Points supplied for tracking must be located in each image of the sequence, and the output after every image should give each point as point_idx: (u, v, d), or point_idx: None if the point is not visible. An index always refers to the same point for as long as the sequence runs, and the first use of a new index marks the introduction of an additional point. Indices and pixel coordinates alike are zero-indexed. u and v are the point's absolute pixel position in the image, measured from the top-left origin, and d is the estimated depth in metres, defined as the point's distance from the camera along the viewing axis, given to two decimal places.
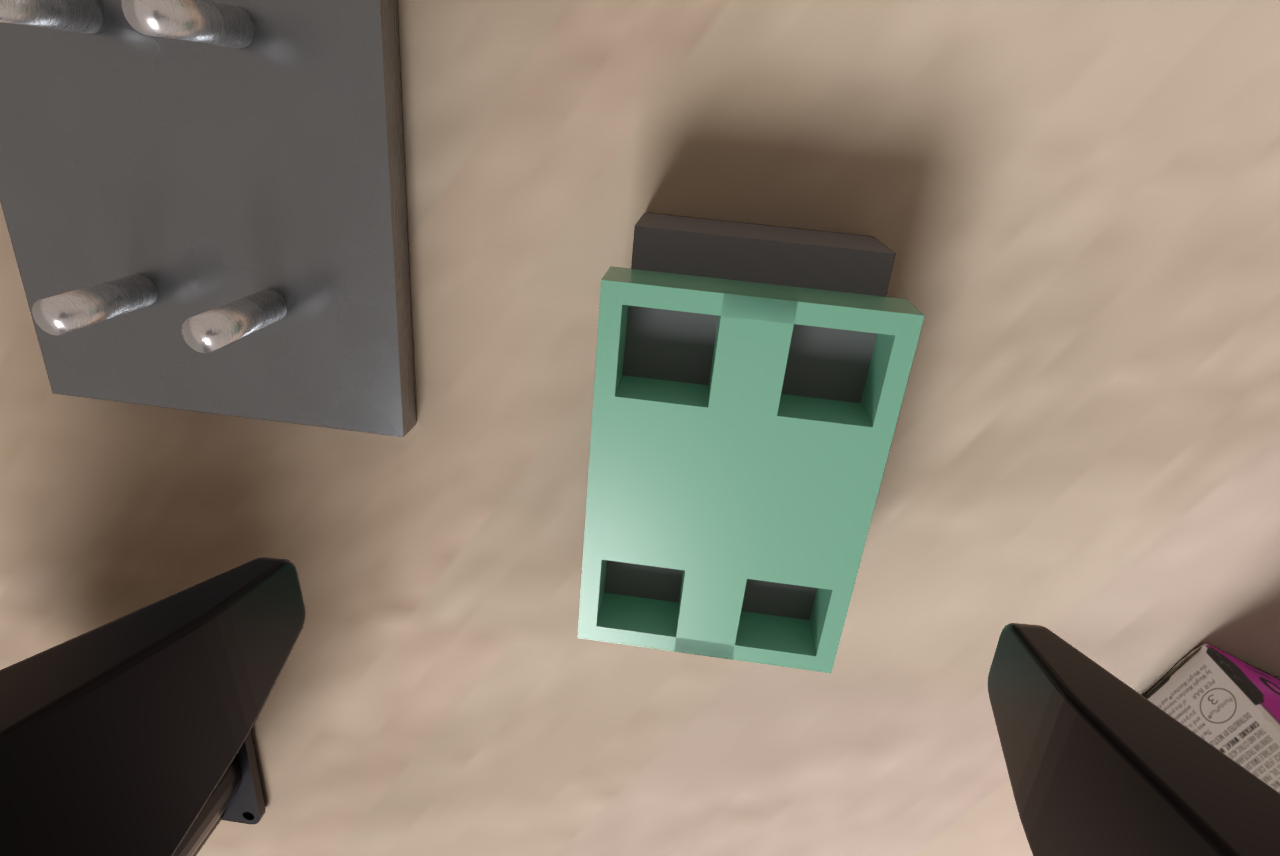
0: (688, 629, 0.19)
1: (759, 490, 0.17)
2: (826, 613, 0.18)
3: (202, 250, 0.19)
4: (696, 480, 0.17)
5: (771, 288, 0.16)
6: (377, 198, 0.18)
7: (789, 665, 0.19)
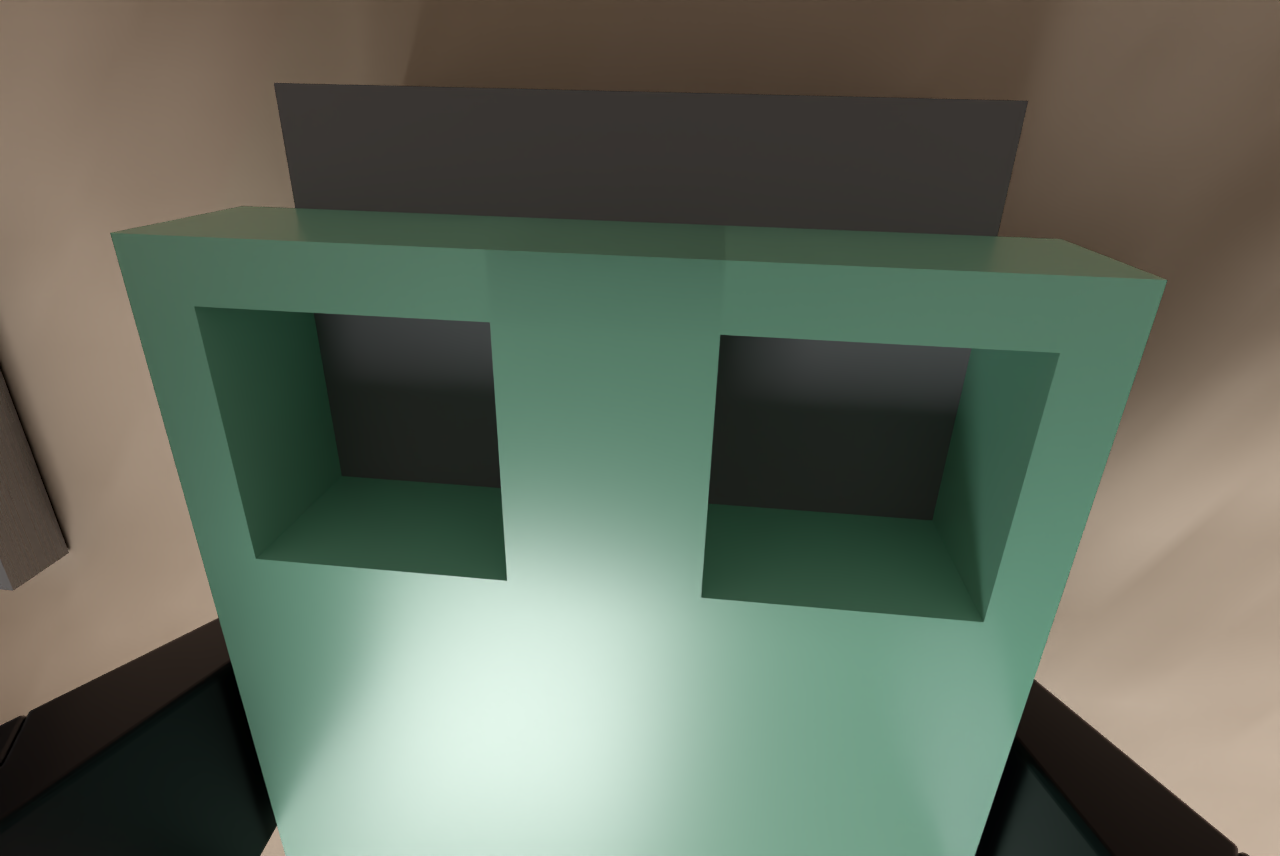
0: None
1: (678, 771, 0.07)
2: None
3: None
4: (514, 749, 0.07)
5: (661, 231, 0.06)
6: None
7: None
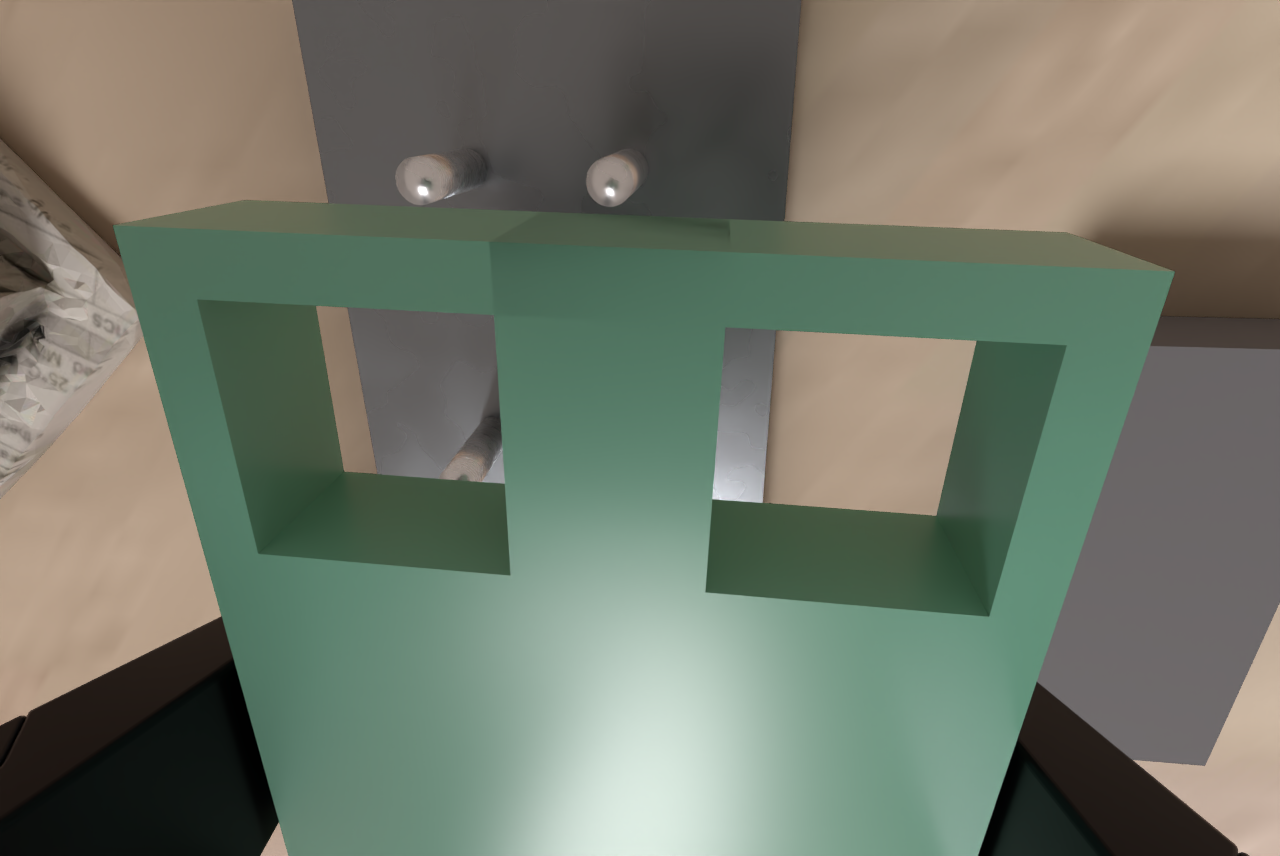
0: None
1: (682, 767, 0.07)
2: None
3: None
4: (517, 745, 0.07)
5: (666, 225, 0.06)
6: None
7: None
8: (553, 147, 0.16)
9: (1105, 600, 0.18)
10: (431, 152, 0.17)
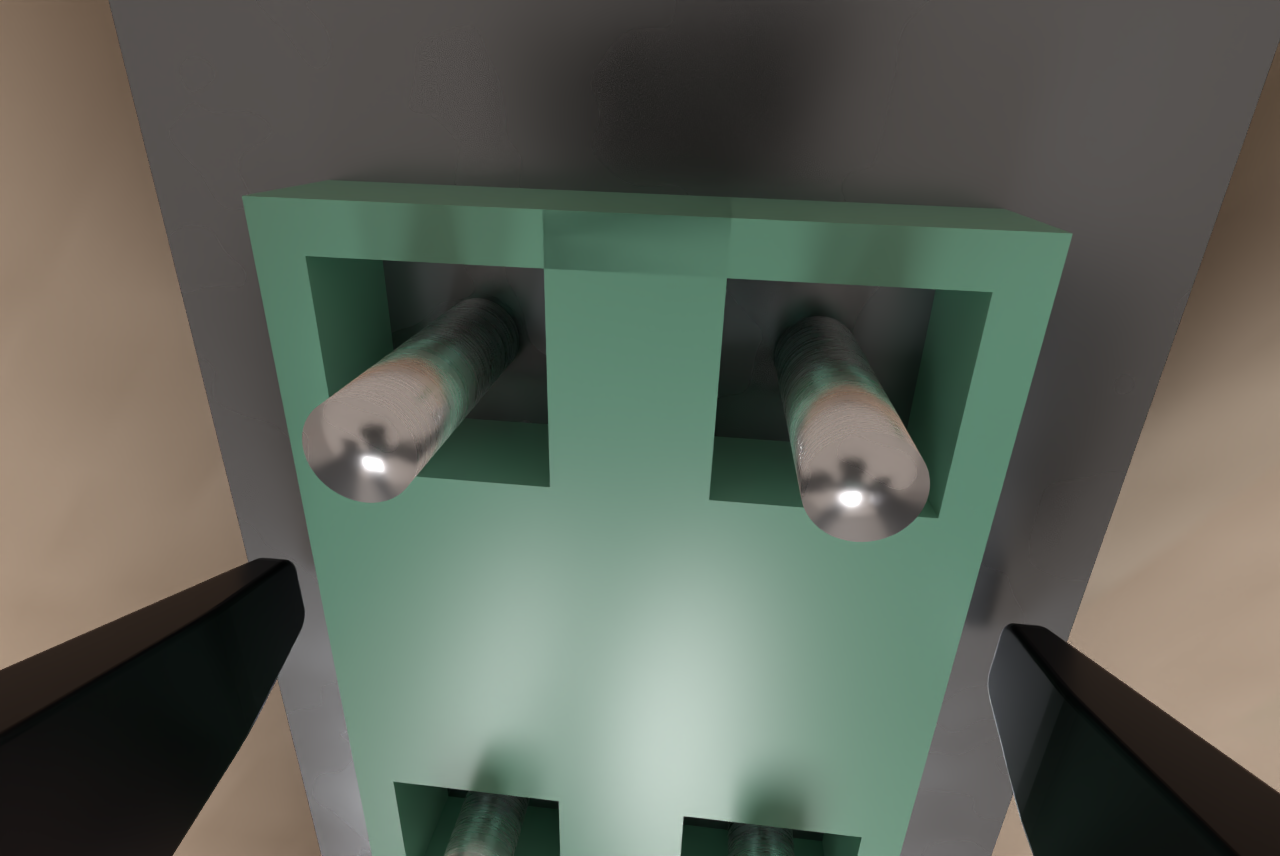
0: None
1: (688, 655, 0.08)
2: None
3: None
4: (550, 637, 0.08)
5: (679, 200, 0.07)
6: None
7: None
8: None
9: None
10: (406, 301, 0.08)
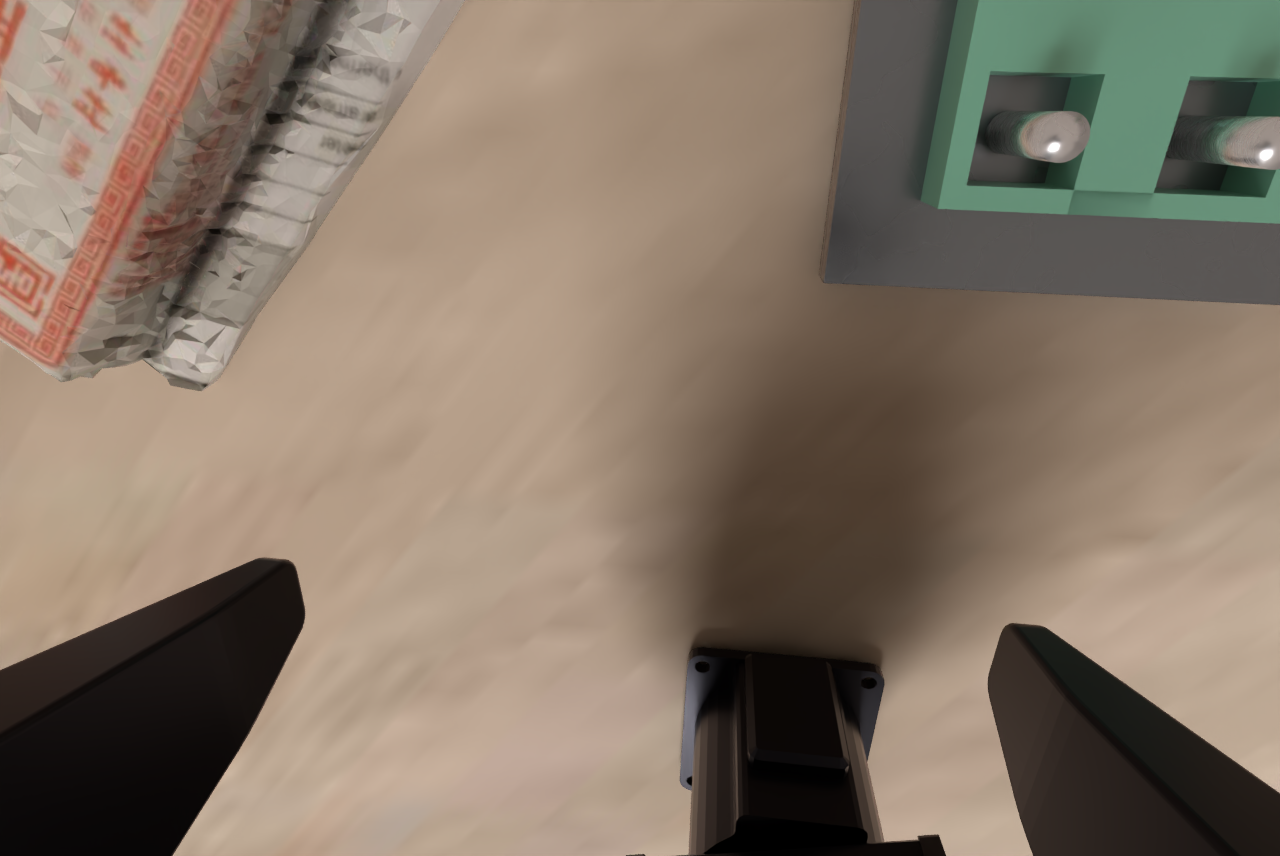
0: (1093, 174, 0.15)
1: None
2: None
3: None
4: None
5: None
6: None
7: (1222, 220, 0.15)
8: None
9: None
10: None
